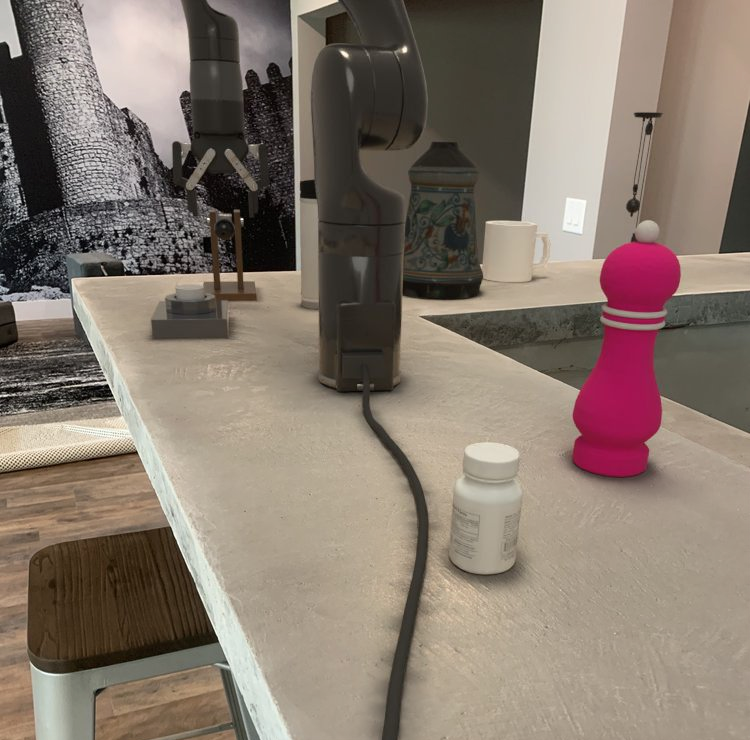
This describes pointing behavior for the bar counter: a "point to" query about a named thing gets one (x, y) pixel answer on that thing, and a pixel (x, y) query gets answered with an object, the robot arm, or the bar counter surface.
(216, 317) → the button base
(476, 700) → the bar counter surface
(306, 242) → the travel mug
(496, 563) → the pill bottle
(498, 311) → the bar counter surface
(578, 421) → the pepper mill
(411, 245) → the beer stein
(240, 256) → the pendulum stand
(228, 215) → the flush lever
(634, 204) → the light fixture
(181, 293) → the flush button
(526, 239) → the mug
